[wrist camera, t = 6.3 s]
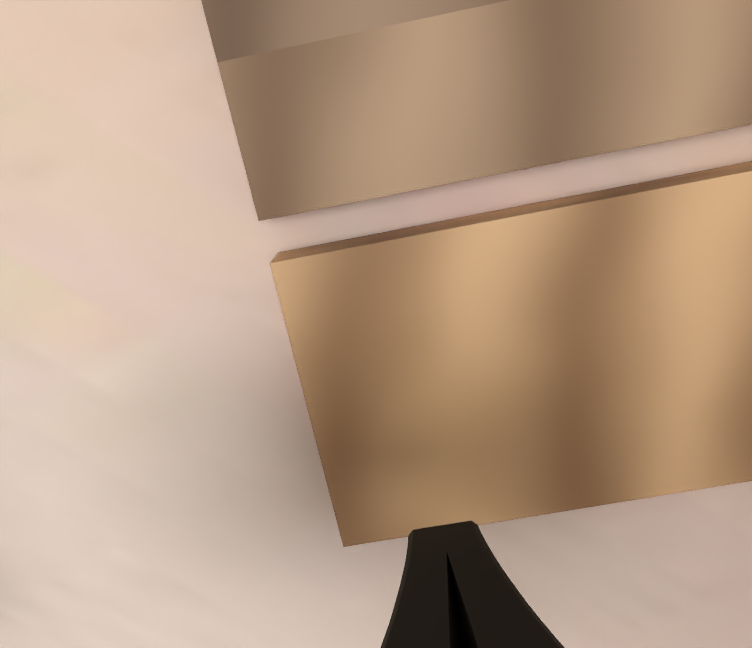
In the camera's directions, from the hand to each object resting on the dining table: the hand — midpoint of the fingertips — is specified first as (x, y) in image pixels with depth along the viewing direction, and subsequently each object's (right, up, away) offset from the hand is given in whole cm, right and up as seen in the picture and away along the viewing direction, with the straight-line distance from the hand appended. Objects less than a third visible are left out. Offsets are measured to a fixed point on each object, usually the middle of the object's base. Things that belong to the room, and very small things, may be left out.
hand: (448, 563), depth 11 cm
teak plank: (+5, +4, +6) cm, 9 cm away
